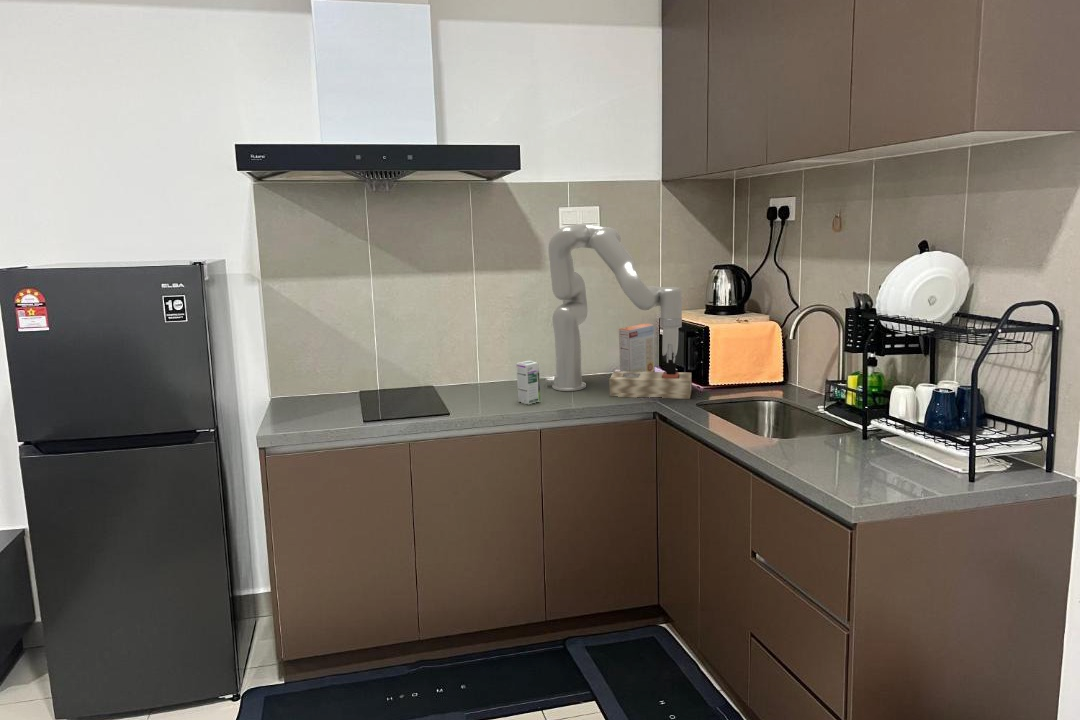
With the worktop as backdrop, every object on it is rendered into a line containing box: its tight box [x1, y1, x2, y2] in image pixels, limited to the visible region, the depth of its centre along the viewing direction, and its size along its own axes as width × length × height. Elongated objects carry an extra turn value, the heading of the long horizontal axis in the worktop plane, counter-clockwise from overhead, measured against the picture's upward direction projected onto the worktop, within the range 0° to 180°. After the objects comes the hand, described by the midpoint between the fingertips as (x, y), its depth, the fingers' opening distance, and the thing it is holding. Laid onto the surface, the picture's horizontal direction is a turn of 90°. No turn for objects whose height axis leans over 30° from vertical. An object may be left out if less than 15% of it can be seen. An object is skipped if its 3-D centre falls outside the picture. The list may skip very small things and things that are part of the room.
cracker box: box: [618, 323, 656, 372], centre depth 300 cm, size 14×6×21 cm, turn 130°
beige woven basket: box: [609, 370, 692, 400], centre depth 281 cm, size 28×12×6 cm, turn 77°
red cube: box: [663, 371, 679, 378], centre depth 279 cm, size 5×5×5 cm
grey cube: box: [623, 374, 639, 378], centre depth 283 cm, size 5×5×5 cm
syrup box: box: [516, 360, 542, 403], centre depth 275 cm, size 6×6×14 cm
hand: (671, 373), depth 279 cm, fingers closed
